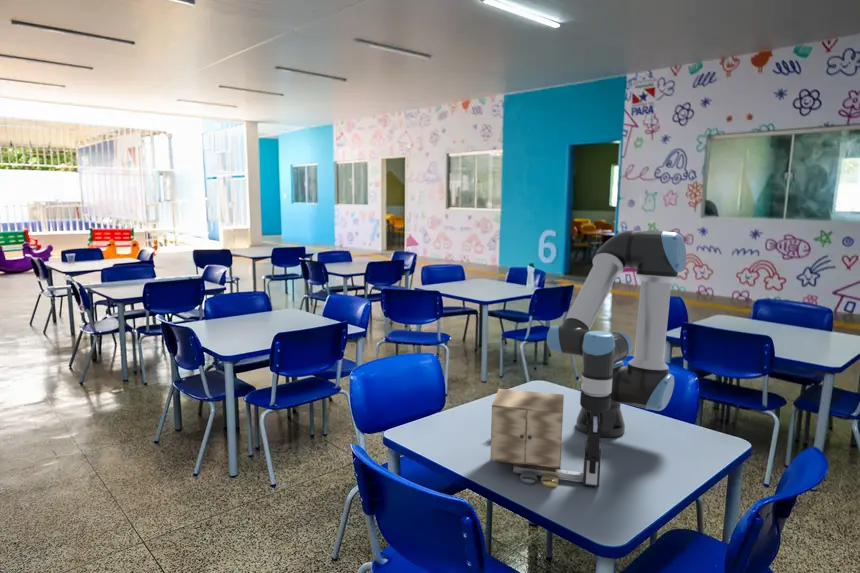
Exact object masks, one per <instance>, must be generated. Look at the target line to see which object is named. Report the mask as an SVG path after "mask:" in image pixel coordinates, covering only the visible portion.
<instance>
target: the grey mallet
mask: <svg viewBox="0 0 860 573" xmlns="http://www.w3.org/2000/svg"><path fill="white" fill-rule="evenodd" d="M588 445H589V440H587V439H585V440H584V450H583V466H582V467H583V468H582V472H580V471H572V470H565V469H554V468H545V467H537V466H529V465H521V464H513V470H512V472H513V473H514V474H515V473H517V474H523V473H532V474H534V475H536V476H537V477H538V476H539V477H543V476H554V477H556V478H557V479H558V480H568V481H576V482H582V485H584V486H592V487H600V479H601V475H600V474H601V463H602V462H601V461H602V442H601V441H600V443H599V462H598V474H597V485H592V484H586V470H587V460H585V457H588Z"/></svg>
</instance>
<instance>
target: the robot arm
mask: <svg viewBox="0 0 860 573" xmlns="http://www.w3.org/2000/svg"><path fill="white" fill-rule="evenodd" d="M686 264H687V248H686V244H685V241H684V238H683V236H682V235H681V234H680V233H678V232H673V231H665V230H664V231H658V230H657V231H654V230H653V231H652V230H625V231H622V232H620V233H617V234H615V235H614V236H612V237H610V238H609V239H607V240H606V241H605V242H604V243H603V244H602V245H601V246H600V248H598V250H597V251H596V253H595V254H594V256H593V258H592V268H591V269H590V271H589V273H588V274H587V275H588V276H586V278H585V281H584V282H583V284H582V286H581V289H580V290H579V292H578V294H577V296H576V298H575V299H574V302H573V304H572V306H571V308H570V309H569V311H568V313H567V315H566V317H565V319H564V321H563V323H562V324H558V325H557V324H556V325H555V324H554V325H552V326H550V327H549V330H548V331H547V334H546V335H547V336H546V344H547V347H548V348H549V349H550V350H551V351H552V352H553V351H554V352H556V353H559V354H566V355H572V356H578V357H582V361H581V362H582V366H581V368H582V369H581V377H580V378H579V379H578V382H580V384H581V386H580V389H581V391H580V394H579V395H580V398H579V400H580V402H579V405H580V406H581V407H580V410H579V413H578V414H577V418H576V422H575V423H576V424H575V425H576V428H577V430H578V431H579V432H580V431H581V432H582V433H584V434H586V435H587V439H586V440H589V445H588V457H585V460H587V470H586V484H592V485H597V474H598V462H599V443H600V442H601V440H600V439H601V438H617V437H620V436H622V435H624V434H625V429H626V428H625V427H626V424H625V420H624V417H623V413H622V410H621V404H624V405H630V406H632V407H633V406H634V407H638V408H641V409H645V410H647V411H648V410H649V411H651V410H652V411H657V412H659V411H663V410H665V408H666V407H667V406H668V404H669V403H670V401H671V397H672V394H673V391H674V388H675V376H674V375H673V374H671V373H669V370H670V368H669V365H668V364H667V363H666V362H665V354H666V342H667V341H666V340H667V335H668V334H667V330H668V323H669V322H668V321H669V314H670V313H669V311H670V299H671V292H672V291H671V289H672V284H673V282H674V281H675V280H676V279H678V274H679V273H681V272H684V270H685V269H686ZM625 269H636V273H635V275H636V276H637V277H638V278H639V280H640V286H639V287H640V288H639V298H638V300H639V301H638V310H637V311H638V312H637V322H636V332H635V334H636V335H635V346H633V341H632V340H631V337H630V336H629V335H628V334H626V333H625V332H623V331H613V332H610V331H604V330H591V328H592V326H593V324H594V322H595V320H596V318H597V316H598V314H599V312H600V310H601V307H602V306H603V304H604V303H605V300H606V298H607V297H608V295H609V292H610V290H611V289H612V288H611V287H612V285H613V284H614V282H615V280H616V277H618V276H620V275H621V274H622V273H623V272H624V270H625ZM633 347H634V352H633V354H634V355H633V356H634V357H633V358H632V359H630V360H629V361H627V362H628V363H627V365H624V360H626V359H627V358H628V357H629V356H630V355H631V354H632V351H633Z"/></svg>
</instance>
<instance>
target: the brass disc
mask: <svg viewBox="0 0 860 573" xmlns="http://www.w3.org/2000/svg"><path fill="white" fill-rule="evenodd" d="M540 484H541V485H542V486H543V487H545V488H549V489H550V488H551V489H553V488H557V487H559V478H556V477H554V476H541V478H540Z"/></svg>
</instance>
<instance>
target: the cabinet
mask: <svg viewBox="0 0 860 573" xmlns="http://www.w3.org/2000/svg"><path fill="white" fill-rule="evenodd" d="M564 397H565V394H562V393H552V392H551V393H550V392H539V391H527V390H517V389H507V388H498V389H497V392H496V395H495V397H494V399H493V402H492V404H491V422H490V423H491V427H490V428H491V429H490V432H491V433H490V461H494V462H498V463H504V464H513V465H514V464H520V465H528V466H535V467H543V468H551V469H558V470H561V464H562V463H561V461H562V445H563V444H562V442H563V441H562V440H563V438H562V437H563V422H564V420H563V418H564V417H563V416H564V399H565V398H564Z"/></svg>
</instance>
